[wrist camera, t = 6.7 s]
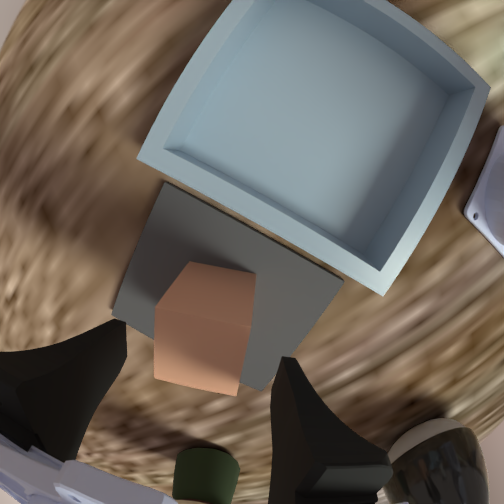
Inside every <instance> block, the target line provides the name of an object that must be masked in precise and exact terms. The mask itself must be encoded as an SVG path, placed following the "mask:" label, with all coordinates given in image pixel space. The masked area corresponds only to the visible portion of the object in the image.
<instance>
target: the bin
mask: <svg viewBox="0 0 504 504" xmlns="http://www.w3.org/2000/svg"><path fill="white" fill-rule="evenodd" d="M490 88H491V87H490V86H489V85H488V84H487V83H486V82H485V81H484V80H483V79H482V78H481V77H480V76H479V75H478V74H477V73H476V72H475V71H474V70H473V69H472V68H471V67H470V66H469V65H468V64H467V63H466V62H465V61H464V60H463V59H462V58H461V57H460V56H459V55H458V54H456V53H455V52H454V51H453V50H452V49H451V48H450V47H449V46H447V45H446V44H445V43H444V42H443V41H441V40H440V39H439V38H438V37H437V36H435V35H434V34H433V33H432V32H430V31H429V30H428V29H426V28H425V27H424V26H423V25H421V24H420V23H419V22H417V21H416V20H414V19H413V18H412V17H410V16H409V15H407V14H406V13H405V12H403V11H402V10H400V9H399V8H397V7H396V6H394V5H393V4H391V3H389V2H388V1H386V0H232V2H231V3H230V4H229V5H228V7H227V8H226V9H225V11H224V12H223V13H222V15H221V16H220V17H219V19H218V20H217V21H216V23H215V24H214V26H213V27H212V28H211V30H210V31H209V33H208V34H207V35H206V37H205V38H204V40H203V41H202V43H201V44H200V46H199V47H198V49H197V50H196V52H195V53H194V55H193V56H192V58H191V59H190V61H189V63H188V64H187V66H186V67H185V69H184V71H183V72H182V74H181V76H180V77H179V79H178V81H177V82H176V84H175V86H174V87H173V89H172V91H171V93H170V94H169V96H168V98H167V100H166V101H165V103H164V105H163V107H162V109H161V111H160V112H159V114H158V116H157V118H156V120H155V122H154V124H153V126H152V128H151V130H150V132H149V134H148V136H147V138H146V140H145V142H144V144H143V146H142V148H141V150H140V152H139V154H138V156H137V159H138V160H140V161H142V162H144V163H145V164H147V165H149V166H151V167H153V168H155V169H157V170H159V171H161V172H163V173H165V174H167V175H168V176H170V177H172V178H174V179H176V180H178V181H180V182H182V183H184V184H185V185H187V186H189V187H191V188H193V189H195V190H197V191H198V192H200V193H202V194H204V195H206V196H208V197H210V198H211V199H213V200H215V201H217V202H219V203H221V204H222V205H224V206H226V207H228V208H230V209H232V210H233V211H235V212H237V213H239V214H241V215H243V216H244V217H246V218H248V219H250V220H252V221H253V222H255V223H257V224H259V225H261V226H262V227H264V228H266V229H268V230H269V231H271V232H273V233H275V234H277V235H278V236H280V237H282V238H284V239H285V240H287V241H289V242H291V243H292V244H294V245H296V246H298V247H299V248H301V249H303V250H305V251H306V252H308V253H310V254H312V255H313V256H315V257H317V258H319V259H320V260H322V261H324V262H326V263H327V264H329V265H331V266H332V267H334V268H336V269H338V270H339V271H341V272H343V273H344V274H346V275H348V276H349V277H351V278H353V279H355V280H356V281H358V282H360V283H361V284H363V285H365V286H366V287H368V288H370V289H371V290H373V291H375V292H376V293H378V294H380V295H381V296H384V294H385V293H386V291H387V290H388V289H389V287H390V286H391V284H392V283H393V281H394V280H395V278H396V277H397V275H398V274H399V272H400V271H401V269H402V268H403V266H404V265H405V263H406V261H407V260H408V258H409V257H410V255H411V253H412V252H413V250H414V249H415V247H416V245H417V244H418V242H419V240H420V239H421V237H422V235H423V234H424V232H425V230H426V229H427V227H428V225H429V223H430V222H431V220H432V218H433V216H434V214H435V213H436V211H437V209H438V207H439V205H440V203H441V202H442V200H443V198H444V196H445V194H446V192H447V190H448V188H449V186H450V184H451V182H452V180H453V178H454V176H455V174H456V172H457V170H458V168H459V166H460V163H461V161H462V159H463V157H464V155H465V152H466V150H467V148H468V146H469V143H470V141H471V139H472V136H473V134H474V131H475V129H476V126H477V124H478V121H479V119H480V116H481V114H482V111H483V108H484V105H485V103H486V100H487V97H488V94H489V91H490Z"/></svg>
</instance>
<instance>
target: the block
mask: <svg viewBox="0 0 504 504" xmlns="http://www.w3.org/2000/svg"><path fill="white" fill-rule="evenodd" d="M255 284H256V274H254V273H249V272H243V271H238V270H232V269H227V268H222V267H217V266H211V265H206V264H201V263H196V262H191V261H189V263H188V264H187V265H186V266H185V268H184V269H183V270H182V272H181V273H180V274H179V276H178V277H177V278H176V280H175V281H174V282H173V284H172V285H171V286H170V287H169V289H168V290H167V291H166V293H165V294H164V295H163V297H162V298H161V300H160V301H159V302H158V304H157V305H156V306H155V321H154V378H156V379H160V380H164V381H168V382H172V383H176V384H180V385H184V386H188V387H193V388H197V389H202V390H207V391H212V392H217V393H222V394H227V395H233V396H236V395H237V391H238V386H239V381H240V377H241V372H242V368H243V363H244V358H245V354H246V349H247V344H248V340H249V335H250V330H251V324H252V314H253V304H254V294H255Z"/></svg>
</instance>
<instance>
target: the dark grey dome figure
mask: <svg viewBox="0 0 504 504" xmlns="http://www.w3.org/2000/svg"><path fill="white" fill-rule="evenodd" d="M388 457H389V459H390V462H391V466H392V469H393V475H392V477H391V479H390V480H389V481H388V482H387V483H386V484H385V485H384V486H383V490H384V493H385V495H386V497H387V499H388V502H389V504H397V503H403V502H408V503H409V504H489V479H488V472H487V467H486V463H485V459H484V456H483V453H482V450H481V447H480V444H479V441H478V439H477V437H476V435H475V434H474V432H473V431H472V430H471V429H470V428H467V427H465V426H464V425H462V424H461V423H459V422H458V421H455V420H452V419H447V418H439V419H433V420H429V421H426V422H423V423H421V424H419V425H417V426H415V427H413V428H412V429H410V430H409V431H407V432H406V433H405V434H403V435H402V436H401V437H400V438H399V439H398V440H397V441H396V442H395V443H394V444H393V446H392V447H391V449H390V450H389V452H388Z"/></svg>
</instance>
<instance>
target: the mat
mask: <svg viewBox="0 0 504 504" xmlns="http://www.w3.org/2000/svg"><path fill="white" fill-rule="evenodd" d="M189 261H191V262H196V263H201V264H206V265H211V266H217V267H222V268H227V269H232V270H238V271H243V272H249V273H254V274H256V284H255V294H254V304H253V314H252V324H251V330H250V335H249V340H248V344H247V349H246V354H245V358H244V363H243V368H242V372H241V377H240V381H239V382H240V383H243V384H245V385H247V386H250V387H252V388H254V389H257V390H259V391H262V390H263V389H264V388H265V387H266V385H267V384H268V383H269V382H270V381H271V379H272V378H273V377H274V376H275V374H276V373H277V370H278V367H279V364H280V361H281V357H282V356H285V357H290V356H291V354H292V353H293V352H294V351H295V349H296V348H297V347H298V345H299V344H300V343H301V342H302V340H303V339H304V338H305V336H306V335H307V334H308V332H309V331H310V330H311V328H312V327H313V326H314V324H315V323H316V322H317V320H318V319H319V317H320V316H321V315H322V313H323V312H324V311H325V309H326V308H327V306H328V305H329V304H330V302H331V301H332V299H333V298H334V296H335V295H336V294H337V292H338V291H339V289H340V288H341V286H342V285H343V283H344V280H343V279H342V278H340V277H338V276H337V275H335V274H333V273H332V272H330V271H328V270H326V269H325V268H323V267H321V266H319V265H318V264H316V263H314V262H312V261H311V260H309V259H307V258H305V257H304V256H302V255H300V254H298V253H296V252H295V251H293V250H291V249H289V248H288V247H286V246H284V245H282V244H281V243H279V242H277V241H275V240H273V239H272V238H270V237H268V236H266V235H264V234H263V233H261V232H259V231H257V230H255V229H254V228H252V227H250V226H248V225H246V224H245V223H243V222H241V221H239V220H237V219H236V218H234V217H232V216H230V215H228V214H226V213H225V212H223V211H221V210H219V209H217V208H216V207H214V206H212V205H210V204H208V203H206V202H204V201H203V200H201V199H199V198H197V197H195V196H193V195H192V194H190V193H188V192H186V191H184V190H182V189H180V188H178V187H177V186H175V185H173V184H171V183H169V182H165V183H164V185H163V187H162V189H161V191H160V193H159V196H158V198H157V200H156V202H155V204H154V206H153V209H152V211H151V213H150V215H149V218H148V220H147V222H146V225H145V227H144V229H143V232H142V234H141V236H140V239H139V241H138V244H137V246H136V249H135V251H134V254H133V256H132V259H131V261H130V264H129V267H128V269H127V272H126V274H125V277H124V280H123V283H122V285H121V288H120V291H119V294H118V297H117V299H116V302H115V305H114V308H113V311H112V314H111V315H113V316H114V317H116V318H117V319H119V320H121V321H124V322H126V324H127V325H129V326H131V327H132V328H134V329H136V330H138V331H139V332H141V333H143V334H145V335H146V336H148V337H150V338H152V339H153V340H154V321H155V306H156V305H157V304H158V302H159V301H160V300H161V298H162V297H163V295H164V294H165V293H166V291H167V290H168V289H169V287H170V286H171V285H172V284H173V282H174V281H175V280H176V278H177V277H178V276H179V274H180V273H181V272H182V270H183V269H184V268H185V266H186V265H187V264H188V263H189Z"/></svg>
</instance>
